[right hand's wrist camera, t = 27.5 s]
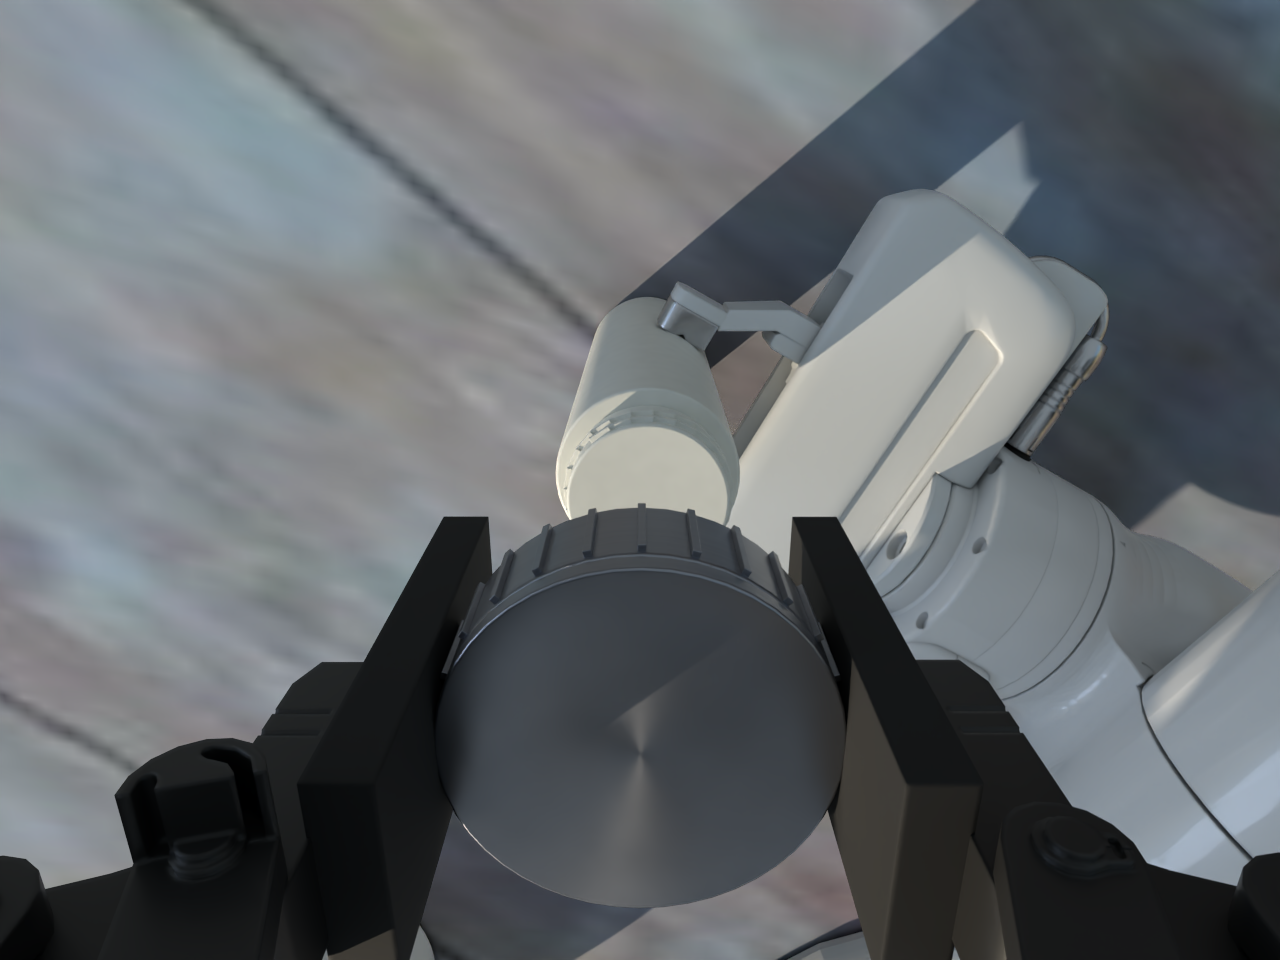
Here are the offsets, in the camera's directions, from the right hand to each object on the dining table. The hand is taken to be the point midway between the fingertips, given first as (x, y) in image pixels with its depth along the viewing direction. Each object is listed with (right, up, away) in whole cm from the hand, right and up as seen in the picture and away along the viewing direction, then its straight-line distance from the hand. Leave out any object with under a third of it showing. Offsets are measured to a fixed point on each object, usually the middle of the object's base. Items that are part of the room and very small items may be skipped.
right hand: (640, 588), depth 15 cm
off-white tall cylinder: (0, +7, +21) cm, 22 cm away
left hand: (-1, +5, +14) cm, 15 cm away
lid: (0, -1, -4) cm, 4 cm away
